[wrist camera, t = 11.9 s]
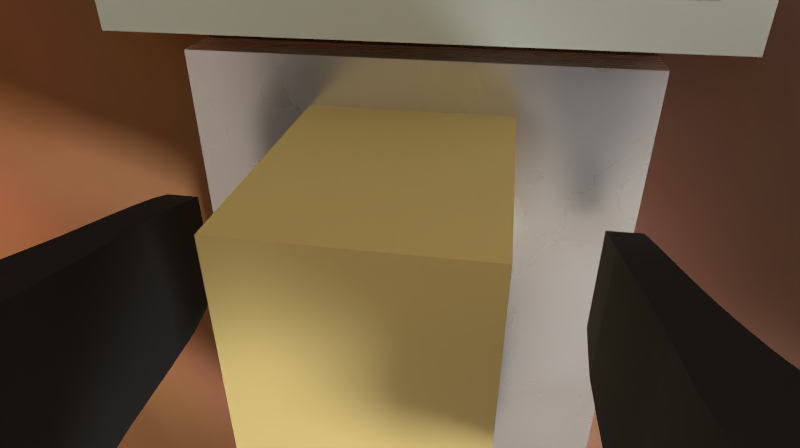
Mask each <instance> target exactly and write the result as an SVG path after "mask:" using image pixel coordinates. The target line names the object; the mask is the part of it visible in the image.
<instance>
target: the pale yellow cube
mask: <svg viewBox="0 0 800 448" xmlns="http://www.w3.org/2000/svg"><path fill="white" fill-rule="evenodd" d="M515 141H516V117H511V116H494V115H476V114H459V113H441V112H424V111H406V110H389V109H371V108H354V107H336V106H319V105H310V106H309V107H308V108H307V109H306V110H305V111H304V112H303V114H302V115H301V116H300V117H299V118H298V119H297V120H296V121H295V122H294V124H293V125H292V126H291V127H290V128H289V129H288V130H287V131H286V133H285V134H284V135H283V136H282V137H281V138H280V139H279V140H278V142H277V143H276V144H275V145H274V146H273V147H272V148H271V149H270V150H269V152H268V153H267V154H266V155H265V156H264V157H263V158H262V159H261V161H260V162H259V163H258V164H257V165H256V166H255V167H254V168H253V170H252V171H251V172H250V173H249V174H248V175H247V176H246V177H245V178H244V180H243V181H242V182H241V183H240V184H239V185H238V186H237V187H236V189H235V190H234V191H233V192H232V193H231V194H230V195H229V196H228V198H227V199H226V200H225V201H224V202H223V203H222V204H221V205H220V206H219V208H218V209H217V210H216V211H215V212H214V213H213V214H212V215H211V217H210V218H209V219H208V220H207V221H206V222H205V223H204V224H203V226H202V227H201V228H200V229H199V230H198V231H197V232H196V233H195V234H194V237H195V242H196V247H197V252H198V257H199V262H200V267H201V272H202V277H203V282H204V287H205V292H206V297H207V302H208V307H209V312H210V317H211V322H212V327H213V332H214V337H215V342H216V347H217V352H218V357H219V362H220V367H221V372H222V377H223V382H224V387H225V392H226V397H227V402H228V407H229V412H230V417H231V422H232V427H233V432H234V437H235V442H236V447H237V448H493V439H494V430H495V420H496V411H497V402H498V393H499V384H500V374H501V365H502V356H503V347H504V338H505V328H506V319H507V310H508V301H509V292H510V283H511V273H512V264H513V223H514V182H515Z"/></svg>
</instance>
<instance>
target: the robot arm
mask: <svg viewBox="0 0 800 448" xmlns="http://www.w3.org/2000/svg"><path fill="white" fill-rule="evenodd" d="M202 226H203V221H202V216H201V211H200V205H199V200H198V197H192V196H180V195H168V194H167V195H163V196H160V197H156V198H153V199H150V200H147V201H144V202H142V203H139V204H136V205H134V206H131V207H129V208H126V209H124V210H121V211H119V212H116V213H114V214H112V215H109V216H107V217H104V218H102V219H100V220H97V221H95V222H93V223H90V224H88V225H85V226H83V227H81V228H78V229H76V230H74V231H71V232H69V233H66V234H64V235H62V236H59V237H57V238H54V239H52V240H49V241H47V242H44V243H41V244H39V245H36V246H34V247H31V248H29V249H26V250H23V251H21V252H18V253H16V254H13V255H11V256H8V257H5V258H3V259H0V448H117V447H118V445H119V443H120V442H121V440H122V439H123V437H124V435H125V434H126V432H127V431H128V429H129V428H130V426H131V425H132V423H133V422H134V420H135V419H136V417H137V416H138V415H139V413H140V412H141V410H142V409H143V407H144V406H145V404H146V403H147V401H148V400H149V399H150V397H151V396H152V394H153V393H154V391H155V390H156V388H157V387H158V385H159V384H160V383H161V381H162V380H163V378H164V377H165V375H166V374H167V372H168V371H169V369H170V368H171V367H172V365H173V364H174V362H175V361H176V359H177V358H178V356H179V355H180V353H181V352H182V350H183V349H184V347H185V346H186V344H187V343H188V341H189V340H190V338H191V336H192V335H193V333H194V332H195V330H196V328H197V326H198V324H199V322H200V320H201V318H202V316H203V314H204V312H205V310H206V307H207V305H208V302H207V297H206V292H205V287H204V282H203V277H202V272H201V267H200V262H199V257H198V252H197V247H196V242H195V237H194V234H195V233H196V232H197V231H198V230H199V229H200V228H201V227H202ZM587 342H588V361H589V376H590V383H591V389H592V394H593V400H594V405H595V410H596V415H597V420H598V426H599V431H600V436H601V441H602V446H603V448H800V370H799V369H798V368H796V367H795V366H793V365H792V364H790V363H789V362H788V361H787V360H785V359H784V358H783V357H781V356H780V355H779V354H777V353H776V352H775V351H773V350H772V349H771V348H769V347H768V346H767V345H766V344H765V343H763V342H762V341H761V340H760V339H758V338H757V337H756V336H755V335H754V334H752V333H751V332H750V331H749V330H748V329H746V328H745V327H744V326H743V325H741V324H740V323H739V322H738V321H737V320H735V319H734V318H733V317H732V316H731V315H730V314H729V313H728V312H726V311H725V310H724V309H723V308H722V307H721V306H720V305H718V304H717V303H716V302H715V301H714V300H713V299H712V298H711V297H710V296H709V295H708V294H706V293H705V292H704V291H703V290H702V289H701V288H700V287H699V286H698V285H697V284H696V283H695V282H694V281H693V280H692V279H691V278H690V277H689V276H688V275H686V274H685V273H684V272H683V271H682V270H681V269H680V268H679V267H678V266H677V265H676V264H675V263H674V262H673V261H672V260H671V259H670V258H669V257H668V256H667V255H666V254H665V253H664V252H663V251H662V250H661V249H660V248H659V247H658V246H657V245H656V244H655V243H654V242H653V241H652V240H651V239H650V238H648V237H647V236H646V235H645V234H641V233H629V232H617V231H605V236H604V241H603V247H602V252H601V257H600V262H599V267H598V272H597V277H596V283H595V288H594V293H593V298H592V303H591V308H590V313H589V319H588V324H587Z"/></svg>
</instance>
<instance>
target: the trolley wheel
mask: <svg viewBox="0 0 800 448" xmlns="http://www.w3.org/2000/svg"><path fill="white" fill-rule="evenodd" d="M184 52H185V57H186V63H187V69H188V74H189V80H190V85H191V91H192V97H193V102H194V108H195V113H196V119H197V125H198V130H199V136H200V142H201V147H202V153H203V158H204V164H205V170H206V175H207V181H208V186H209V192H210V198H211V203H212V209H213V213H214V212H215V211H216V210H217V209H218V208H219V206H220V205H221V204H222V203H223V202H224V201H225V200H226V199H227V198H228V196H229V195H230V194H231V193H232V192H233V191H234V190H235V189H236V187H237V186H238V185H239V184H240V183H241V182H242V181H243V180H244V178H245V177H246V176H247V175H248V174H249V173H250V172H251V171H252V170H253V168H254V167H255V166H256V165H257V164H258V163H259V162H260V161H261V159H262V158H263V157H264V156H265V155H266V154H267V153H268V152H269V150H270V149H271V148H272V147H273V146H274V145H275V144H276V143H277V142H278V140H279V139H280V138H281V137H282V136H283V135H284V134H285V133H286V131H287V130H288V129H289V128H290V127H291V126H292V125H293V124H294V122H295V121H296V120H297V119H298V118H299V117H300V116H301V115H302V114H303V112H304V111H305V110H306V109H307V108H308V107H309V106H310V105H319V106H336V107H354V108H371V109H389V110H406V111H424V112H441V113H459V114H476V115H494V116H511V117H516V141H515V182H514V223H513V264H512V273H511V283H510V292H509V301H508V310H507V319H506V328H505V338H504V347H503V356H502V365H501V374H500V384H499V393H498V402H497V411H496V420H495V430H494V439H493V448H586V447H587V442H588V438H589V433H590V429H591V424H592V420H593V415H594V411H595V405H594V400H593V394H592V389H591V383H590V376H589V361H588V342H587V324H588V319H589V313H590V308H591V303H592V298H593V293H594V288H595V283H596V277H597V272H598V267H599V262H600V257H601V252H602V247H603V241H604V236H605V231H617V232H629V233H634V230H635V226H636V221H637V217H638V212H639V208H640V203H641V199H642V194H643V190H644V185H645V181H646V176H647V172H648V167H649V163H650V158H651V154H652V149H653V145H654V140H655V136H656V131H657V127H658V122H659V118H660V113H661V109H662V104H663V100H664V95H665V91H666V86H667V82H668V77H669V73H670V71H669V69H668V68H667V67H666V65H665V64H664V62H663V61H662V60H661V58H660V57H659V56H647V55H623V54H599V53H574V52H550V51H526V50H501V49H477V48H453V47H429V46H404V45H380V44H356V43H331V42H307V41H283V40H258V39H234V38H210V37H206V38H205V39H203V40H201V41H199V42H197V43H195V44H193V45H192V46H190V47H188V48H186V49H184Z"/></svg>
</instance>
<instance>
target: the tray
mask: <svg viewBox="0 0 800 448" xmlns="http://www.w3.org/2000/svg"><path fill="white" fill-rule="evenodd" d="M778 1H779V0H95V3H96V7H97V11H98V15H99V20H100V24H101V28H102V30H103V31H128V32H152V33H177V34H202V35H226V36H251V37H276V38H301V39H325V40H350V41H375V42H400V43H424V44H449V45H474V46H498V47H523V48H548V49H573V50H597V51H622V52H647V53H671V54H696V55H721V56H746V57H762V56H763V52H764V49H765V46H766V42H767V39H768V35H769V32H770V29H771V25H772V22H773V18H774V15H775V12H776V8H777V5H778Z"/></svg>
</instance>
